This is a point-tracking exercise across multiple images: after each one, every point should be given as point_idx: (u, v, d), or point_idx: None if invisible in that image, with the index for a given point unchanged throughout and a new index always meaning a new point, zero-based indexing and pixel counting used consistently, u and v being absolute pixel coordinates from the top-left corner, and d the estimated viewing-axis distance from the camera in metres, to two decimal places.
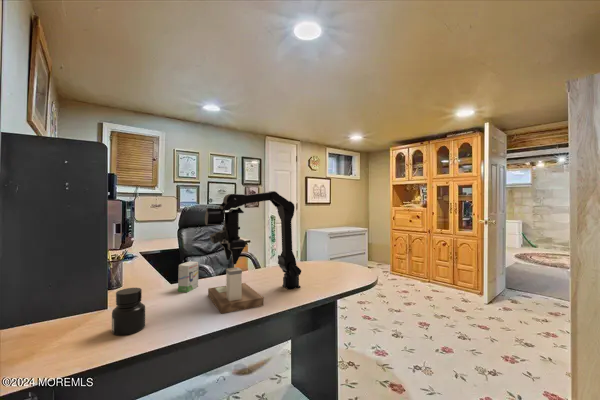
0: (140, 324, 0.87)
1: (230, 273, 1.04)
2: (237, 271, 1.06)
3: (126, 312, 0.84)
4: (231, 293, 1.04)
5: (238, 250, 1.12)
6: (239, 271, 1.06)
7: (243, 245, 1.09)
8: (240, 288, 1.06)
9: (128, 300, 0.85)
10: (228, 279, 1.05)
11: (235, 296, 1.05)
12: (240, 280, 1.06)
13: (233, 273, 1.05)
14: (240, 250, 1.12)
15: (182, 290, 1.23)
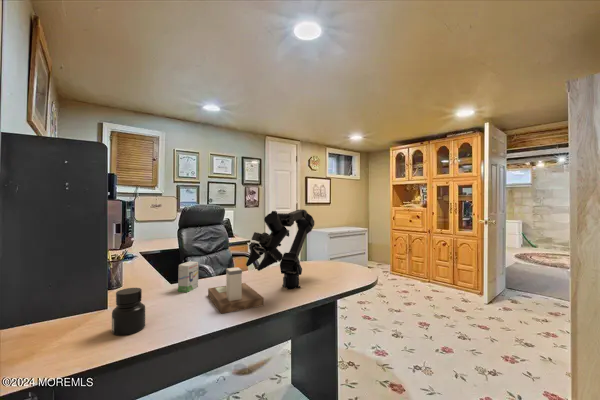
0: (140, 324, 0.87)
1: (230, 273, 1.04)
2: (237, 271, 1.05)
3: (126, 312, 0.84)
4: (231, 293, 1.04)
5: (270, 260, 1.10)
6: (239, 271, 1.06)
7: (280, 258, 1.09)
8: (240, 288, 1.06)
9: (128, 300, 0.85)
10: (228, 279, 1.05)
11: (235, 296, 1.05)
12: (240, 280, 1.06)
13: (233, 273, 1.05)
14: (272, 262, 1.10)
15: (182, 290, 1.23)
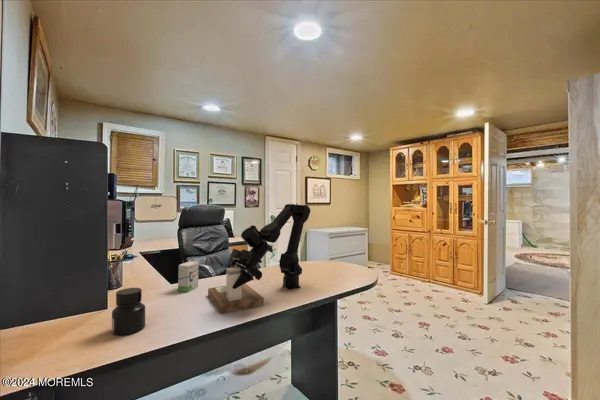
0: (140, 324, 0.87)
1: (230, 273, 1.04)
2: (237, 271, 1.05)
3: (126, 312, 0.84)
4: (231, 293, 1.04)
5: (246, 278, 1.06)
6: (239, 271, 1.06)
7: (259, 277, 1.03)
8: (240, 288, 1.06)
9: (128, 300, 0.85)
10: (228, 279, 1.05)
11: (235, 296, 1.05)
12: None
13: (233, 273, 1.05)
14: (248, 279, 1.06)
15: (182, 290, 1.23)
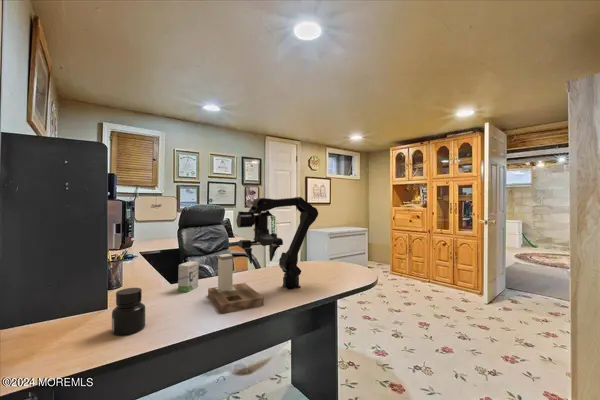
0: (140, 324, 0.87)
1: (222, 258, 1.15)
2: (228, 257, 1.16)
3: (126, 312, 0.84)
4: (223, 276, 1.15)
5: None
6: (230, 257, 1.17)
7: None
8: (231, 272, 1.17)
9: (128, 300, 0.85)
10: (220, 264, 1.16)
11: (226, 279, 1.16)
12: (231, 265, 1.17)
13: (225, 258, 1.15)
14: None
15: (182, 290, 1.23)
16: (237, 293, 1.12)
